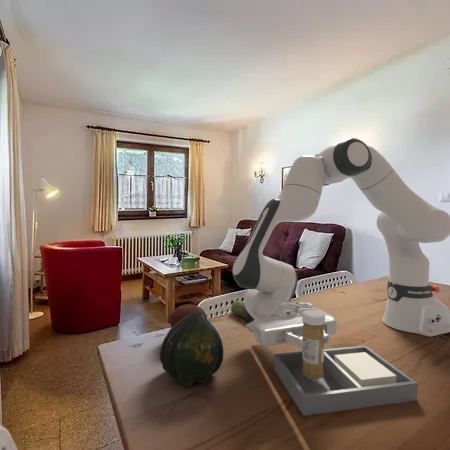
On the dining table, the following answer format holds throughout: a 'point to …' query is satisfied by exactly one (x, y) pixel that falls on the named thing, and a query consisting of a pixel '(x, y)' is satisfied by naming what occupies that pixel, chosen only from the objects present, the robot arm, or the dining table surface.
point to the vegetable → (241, 310)
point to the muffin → (183, 313)
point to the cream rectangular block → (365, 369)
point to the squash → (192, 350)
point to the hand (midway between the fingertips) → (315, 342)
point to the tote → (339, 384)
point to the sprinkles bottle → (313, 343)
